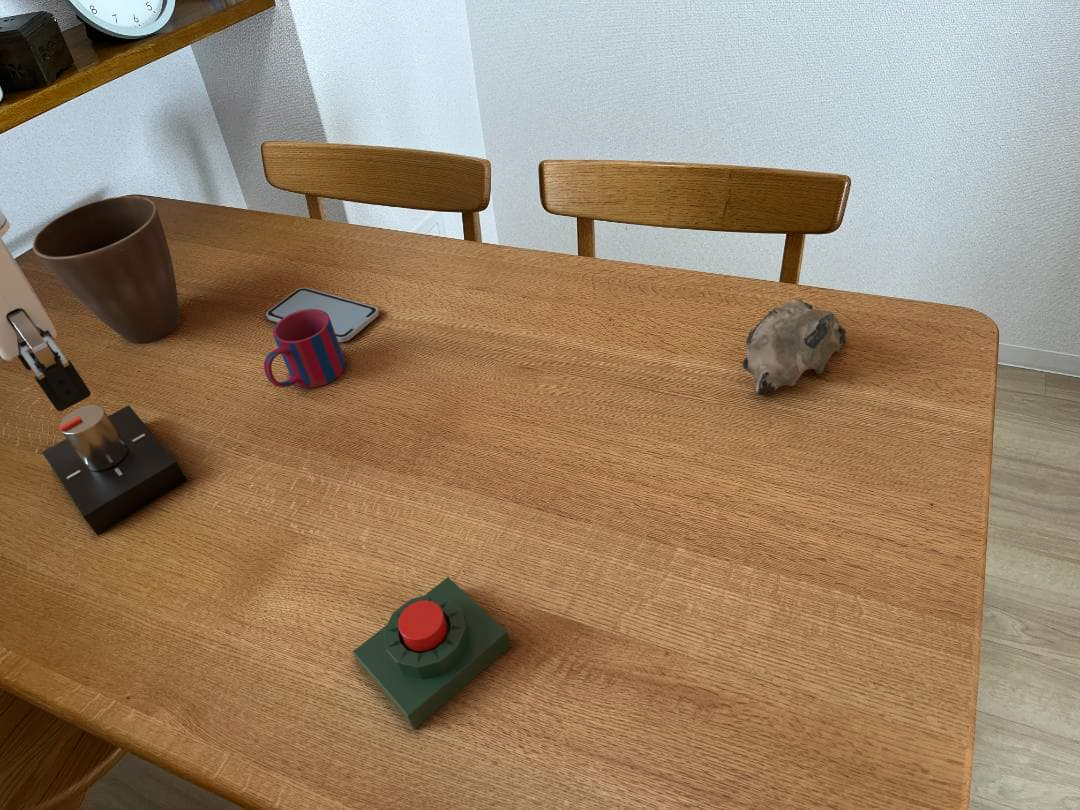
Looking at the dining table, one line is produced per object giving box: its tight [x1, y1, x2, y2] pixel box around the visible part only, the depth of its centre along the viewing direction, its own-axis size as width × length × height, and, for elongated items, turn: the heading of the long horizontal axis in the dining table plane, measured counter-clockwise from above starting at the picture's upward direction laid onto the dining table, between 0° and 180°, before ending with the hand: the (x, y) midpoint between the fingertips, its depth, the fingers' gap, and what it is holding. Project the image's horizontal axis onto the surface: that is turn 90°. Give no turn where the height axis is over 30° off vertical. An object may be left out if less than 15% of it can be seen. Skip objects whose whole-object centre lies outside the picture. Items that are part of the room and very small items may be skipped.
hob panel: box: [41, 404, 188, 536], centre depth 88 cm, size 14×10×3 cm
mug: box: [263, 309, 347, 388], centre depth 96 cm, size 7×10×7 cm
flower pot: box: [32, 195, 180, 344], centre depth 106 cm, size 15×15×16 cm
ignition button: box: [398, 601, 447, 652], centre depth 64 cm, size 4×4×2 cm
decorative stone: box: [741, 298, 847, 397], centre depth 85 cm, size 16×9×10 cm, turn 149°
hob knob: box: [58, 404, 128, 471], centre depth 85 cm, size 4×4×6 cm
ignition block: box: [352, 576, 512, 731], centre depth 66 cm, size 10×8×4 cm
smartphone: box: [266, 287, 380, 343], centre depth 107 cm, size 7×1×15 cm
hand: (58, 381), depth 79 cm, fingers open, 9 cm apart
